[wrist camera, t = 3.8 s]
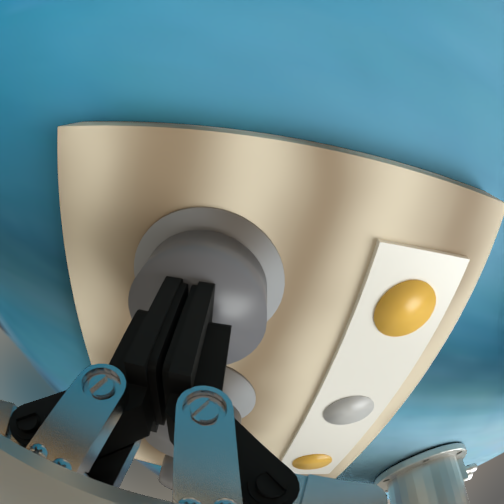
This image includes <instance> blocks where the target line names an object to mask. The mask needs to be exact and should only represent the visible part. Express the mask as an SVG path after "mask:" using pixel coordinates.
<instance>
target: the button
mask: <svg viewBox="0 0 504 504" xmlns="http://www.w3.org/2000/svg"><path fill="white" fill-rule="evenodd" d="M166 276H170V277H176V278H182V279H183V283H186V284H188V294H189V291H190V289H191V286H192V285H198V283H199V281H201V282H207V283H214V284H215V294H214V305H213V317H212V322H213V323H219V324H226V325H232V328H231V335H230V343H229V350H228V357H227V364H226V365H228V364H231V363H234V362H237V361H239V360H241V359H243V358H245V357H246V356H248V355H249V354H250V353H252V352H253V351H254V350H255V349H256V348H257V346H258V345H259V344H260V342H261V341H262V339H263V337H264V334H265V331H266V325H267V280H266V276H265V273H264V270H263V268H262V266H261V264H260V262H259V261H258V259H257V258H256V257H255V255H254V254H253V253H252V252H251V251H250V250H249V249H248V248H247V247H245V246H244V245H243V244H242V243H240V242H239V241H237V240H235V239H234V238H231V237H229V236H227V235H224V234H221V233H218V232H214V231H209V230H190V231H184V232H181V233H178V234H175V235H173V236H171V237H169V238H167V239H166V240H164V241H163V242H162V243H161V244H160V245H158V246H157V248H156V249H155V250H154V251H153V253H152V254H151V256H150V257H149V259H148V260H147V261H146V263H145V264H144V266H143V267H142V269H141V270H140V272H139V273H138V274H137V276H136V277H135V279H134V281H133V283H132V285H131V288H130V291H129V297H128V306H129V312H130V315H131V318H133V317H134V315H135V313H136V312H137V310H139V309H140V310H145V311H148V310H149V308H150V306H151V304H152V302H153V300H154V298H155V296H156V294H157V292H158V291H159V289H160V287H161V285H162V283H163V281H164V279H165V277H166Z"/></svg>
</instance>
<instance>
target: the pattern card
mask: <svg viewBox="0 0 504 504" xmlns="http://www.w3.org/2000/svg"><path fill="white" fill-rule="evenodd" d="M469 261H470V259H469V258H468V257H467V256H462V255H458V254H453V253H448V252H443V251H438V250H433V249H428V248H423V247H418V246H413V245H408V244H403V243H398V242H392V241H387V240H382V239H377V243H376V246H375V249H374V252H373V255H372V258H371V261H370V264H369V267H368V270H367V272H366V275H365V278H364V281H363V284H362V286H361V289H360V292H359V294H358V297H357V300H356V302H355V305H354V308H353V310H352V313H351V315H350V318H349V320H348V323H347V325H346V328H345V330H344V333H343V335H342V337H341V340H340V342H339V344H338V347H337V349H336V351H335V354H334V356H333V358H332V360H331V363H330V365H329V367H328V369H327V371H326V374H325V376H324V378H323V380H322V382H321V384H320V386H319V388H318V390H317V393H316V395H315V397H314V399H313V401H312V403H311V405H310V407H309V409H308V411H307V413H306V414H305V416H304V418H303V420H302V422H301V424H300V426H299V428H298V430H297V432H296V433H295V435H294V437H293V439H292V441H291V443H290V444H289V446H288V448H287V450H286V451H285V453H284V455H283V457H282V458H281V460H280V461H282V462H283V463H284V464H285V465H286V466H287V467H289V468H290V469H291V470H292V471H293V472H294V473H295V474H329V473H330V472H331V471H332V470H333V469H334V468H335V467H336V466H337V465H338V464H339V463H340V462H341V461H342V460H343V458H344V457H345V456H346V455H347V454H348V453H349V452H350V451H351V450H352V448H353V447H354V446H355V445H356V444H357V443H358V441H359V440H360V439H361V438H362V437H363V436H364V434H365V433H366V432H367V431H368V429H369V428H370V427H371V426H372V424H373V423H374V422H375V421H376V419H377V418H378V417H379V416H380V414H381V413H382V412H383V410H384V409H385V408H386V406H387V405H388V404H389V402H390V401H391V399H392V398H393V397H394V395H395V394H396V393H397V391H398V390H399V388H400V387H401V385H402V384H403V382H404V381H405V379H406V378H407V376H408V375H409V373H410V372H411V370H412V369H413V367H414V366H415V364H416V363H417V361H418V359H419V358H420V356H421V355H422V353H423V351H424V350H425V348H426V346H427V345H428V343H429V341H430V339H431V338H432V336H433V334H434V332H435V331H436V329H437V327H438V325H439V323H440V321H441V320H442V318H443V316H444V314H445V312H446V310H447V308H448V306H449V304H450V302H451V300H452V298H453V296H454V294H455V292H456V290H457V288H458V286H459V283H460V281H461V279H462V277H463V275H464V272H465V270H466V268H467V265H468V263H469Z"/></svg>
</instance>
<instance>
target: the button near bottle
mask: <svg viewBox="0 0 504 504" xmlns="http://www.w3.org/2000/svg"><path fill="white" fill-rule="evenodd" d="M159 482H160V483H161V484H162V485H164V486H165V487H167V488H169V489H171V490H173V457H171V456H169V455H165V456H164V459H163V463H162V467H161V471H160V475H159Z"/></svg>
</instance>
